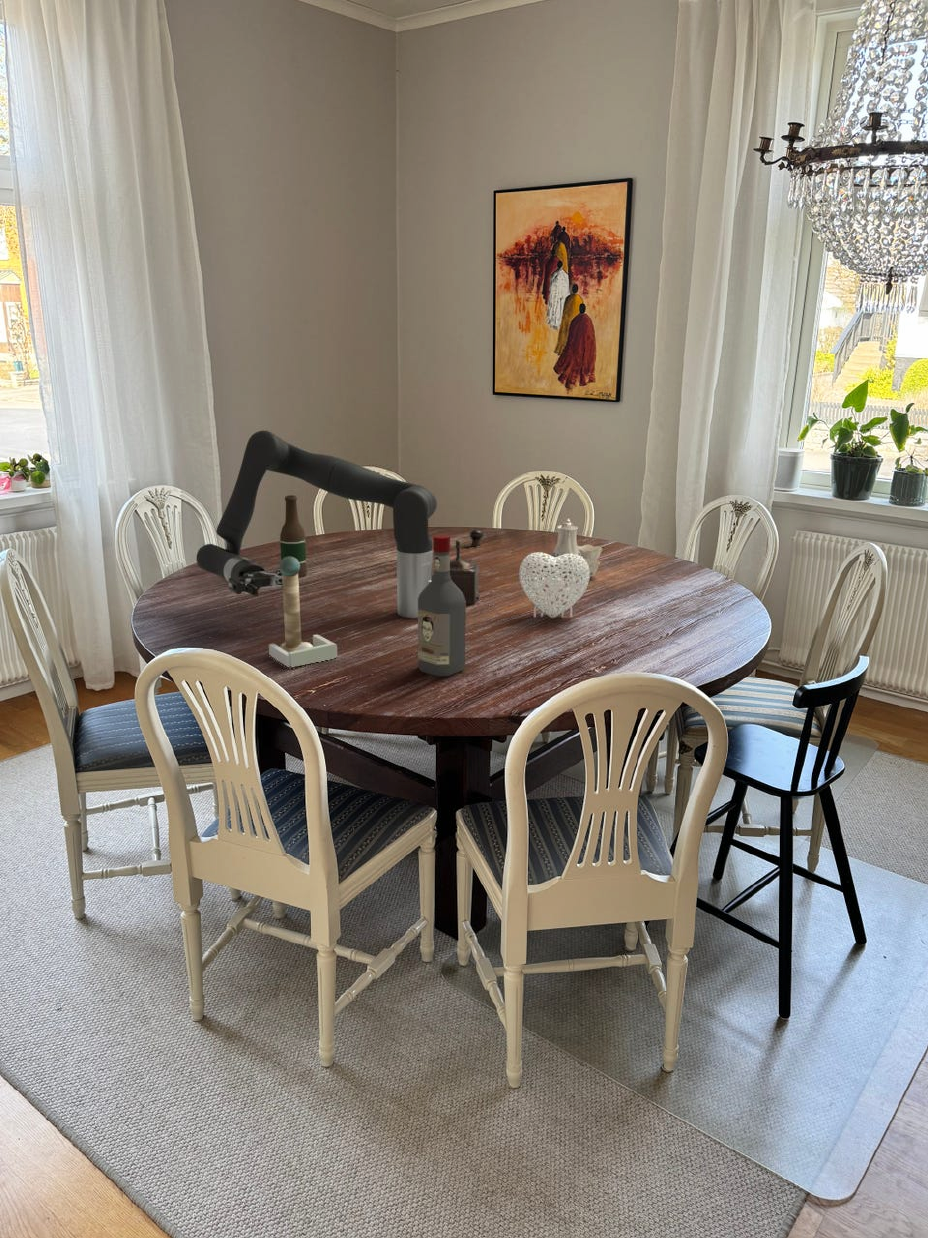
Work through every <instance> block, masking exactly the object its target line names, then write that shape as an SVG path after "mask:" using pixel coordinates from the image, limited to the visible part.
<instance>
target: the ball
mask: <svg viewBox="0 0 928 1238" xmlns="http://www.w3.org/2000/svg"><path fill="white" fill-rule="evenodd" d="M303 642H304V641H303ZM311 647H313V643H312V644H311V642H307V641H305V642H304V643H301V644H300V645H299V646H298V647H297V650H302V649H306V648H311Z"/></svg>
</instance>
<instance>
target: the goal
mask: <svg viewBox="0 0 928 1238" xmlns="http://www.w3.org/2000/svg"><path fill="white" fill-rule="evenodd" d="M312 645H313V647H311V648H306V649H302V650H297V651H293V652H287V651H285V650H284V649H282V648H280V646H278V645H277V644H275V643H270V644H268V654H269V655H271V656H272V657H274V658H275V659H277V660H278V661H280V662H281V663H283V664H284V665H286V666H287V667H289V666H291V667H295V666H300V665H305V664H310V663H315V662H319V663H322V662H321V661H324V662H326V661H325V660H328V661H331V660H330V659H333V660H335V659H334V658H336V657H337V658H338V645H337V644H336V643H334V642H332V641H330V640H328V639H326V638H325V637H323V636H321V635H319V634H313V635H312ZM337 658H336V659H337ZM315 664H316V663H315Z"/></svg>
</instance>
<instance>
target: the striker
mask: <svg viewBox="0 0 928 1238" xmlns="http://www.w3.org/2000/svg"><path fill="white" fill-rule="evenodd" d="M280 560H281V559H280ZM278 567H279V570H280V571H281V573H282V584H283V588H282V599H283V617H284V618H283V619H284V620H283V621H284V622H283V623H284V639H285V641H284V642H283V643H282V644H280V646H279V647H280V648H282V649H284V650H285V651H287V652H293V651H297V647H298V646H299V645H300V644H301V643H304V641H302V629H301V627H302V626H301V624H302V623H301V607H300V605H301V604H300V602H301V601H300V588H299V587H300V585H299V582H300V581H299V578H298V572H299V570H300V564H299V561H298V560H297V559H296V558H294V557H285V558H284V559H282V560H281V561H280V562H279V566H278Z"/></svg>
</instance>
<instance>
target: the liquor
mask: <svg viewBox="0 0 928 1238" xmlns="http://www.w3.org/2000/svg"><path fill="white" fill-rule="evenodd" d="M432 538H433V539H432V542H433V580H432V581H431V582H430V583H429V584H428V585H427V586H426V587H425V588H424V590H423V591H422V592H421V593H420V594H419V597H418V618H417V664H418V669H419V671H420V672H421V673H425V674H428V675H431V676H434V677H438V678H439V677H451V676H453V675H455V674H458V673H460V672H462V671H464V669H465V668H466V625H467V624H466V621H467V620H466V618H467V617H466V615H467V613H466V611H467V610H466V608H467V605H466V601H465V598H464V595H463V593H462V591H461V590H460V589H459V588H458V587H457V586H456V585H455V584H454V583H453V582H452V580H451V576H450V561H451V560H450V557H451V556H450V555H451V554H450V552H451V536H450V535H448V534H435V535H433V537H432Z"/></svg>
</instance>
